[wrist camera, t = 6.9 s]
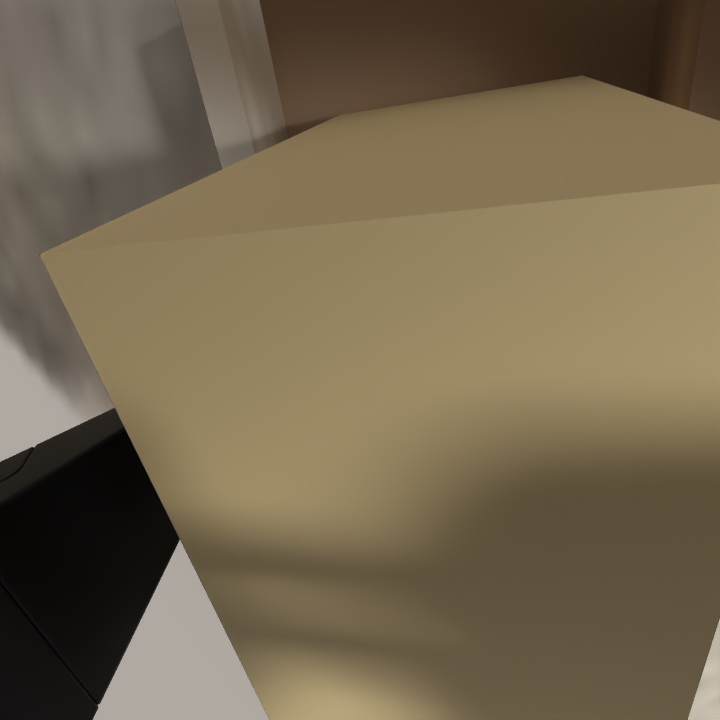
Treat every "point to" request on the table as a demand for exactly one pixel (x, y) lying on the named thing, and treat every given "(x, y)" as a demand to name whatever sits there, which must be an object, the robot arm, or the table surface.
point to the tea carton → (437, 402)
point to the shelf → (432, 56)
